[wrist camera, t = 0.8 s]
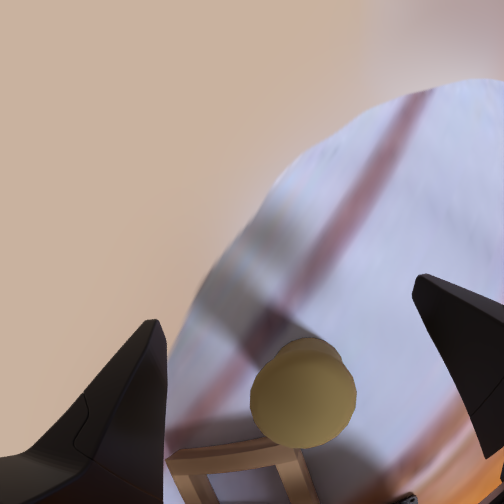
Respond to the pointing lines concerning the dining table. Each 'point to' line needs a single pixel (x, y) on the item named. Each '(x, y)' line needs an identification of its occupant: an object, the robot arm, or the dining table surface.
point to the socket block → (240, 468)
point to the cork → (303, 395)
